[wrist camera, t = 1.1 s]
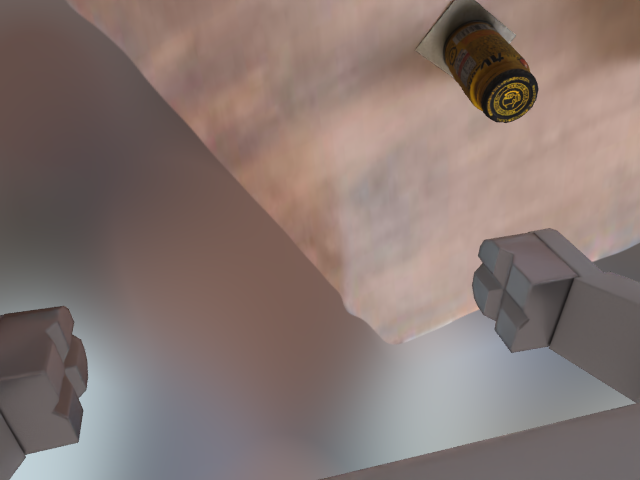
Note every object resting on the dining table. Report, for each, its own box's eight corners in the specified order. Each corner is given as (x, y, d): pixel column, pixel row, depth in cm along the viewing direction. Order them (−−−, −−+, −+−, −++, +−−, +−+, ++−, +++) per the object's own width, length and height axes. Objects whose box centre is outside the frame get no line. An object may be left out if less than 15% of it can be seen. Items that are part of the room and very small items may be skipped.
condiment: (467, 88, 60) (507, 143, 51) (414, 49, 56) (447, 102, 47) (515, 34, 56) (567, 84, 48) (462, -11, 53) (507, 34, 44)
